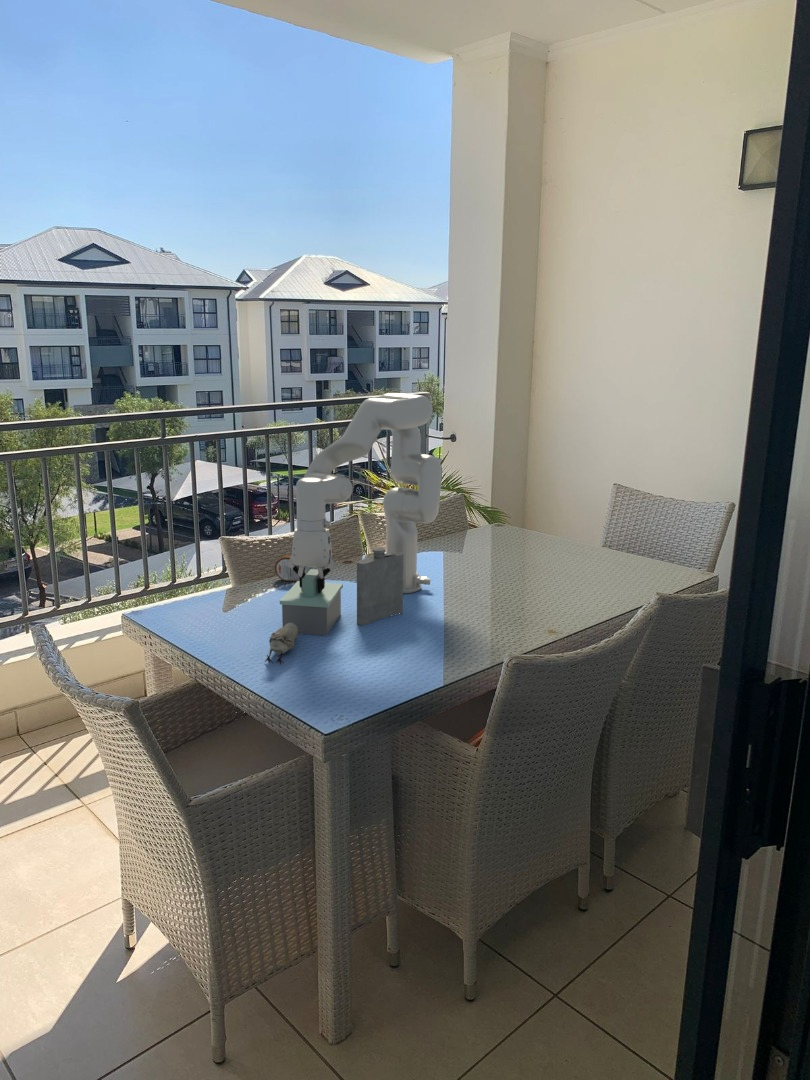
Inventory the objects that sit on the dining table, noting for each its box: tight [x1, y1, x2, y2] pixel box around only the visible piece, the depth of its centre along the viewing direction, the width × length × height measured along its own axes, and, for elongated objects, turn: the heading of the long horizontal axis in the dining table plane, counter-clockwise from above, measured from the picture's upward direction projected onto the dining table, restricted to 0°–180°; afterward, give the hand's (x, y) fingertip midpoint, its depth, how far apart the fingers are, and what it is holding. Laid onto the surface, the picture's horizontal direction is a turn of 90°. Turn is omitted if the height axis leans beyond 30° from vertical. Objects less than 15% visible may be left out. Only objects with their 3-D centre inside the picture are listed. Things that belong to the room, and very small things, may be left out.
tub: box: [281, 589, 342, 637], centre depth 214 cm, size 12×16×8 cm
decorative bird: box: [264, 623, 299, 665], centre depth 194 cm, size 5×16×8 cm, turn 170°
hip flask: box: [356, 546, 404, 626], centre depth 218 cm, size 16×4×20 cm, turn 133°
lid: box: [279, 569, 344, 608], centre depth 212 cm, size 13×17×7 cm
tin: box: [274, 554, 318, 583], centre depth 249 cm, size 15×3×8 cm, turn 84°
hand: (312, 589), depth 212 cm, fingers open, 3 cm apart
